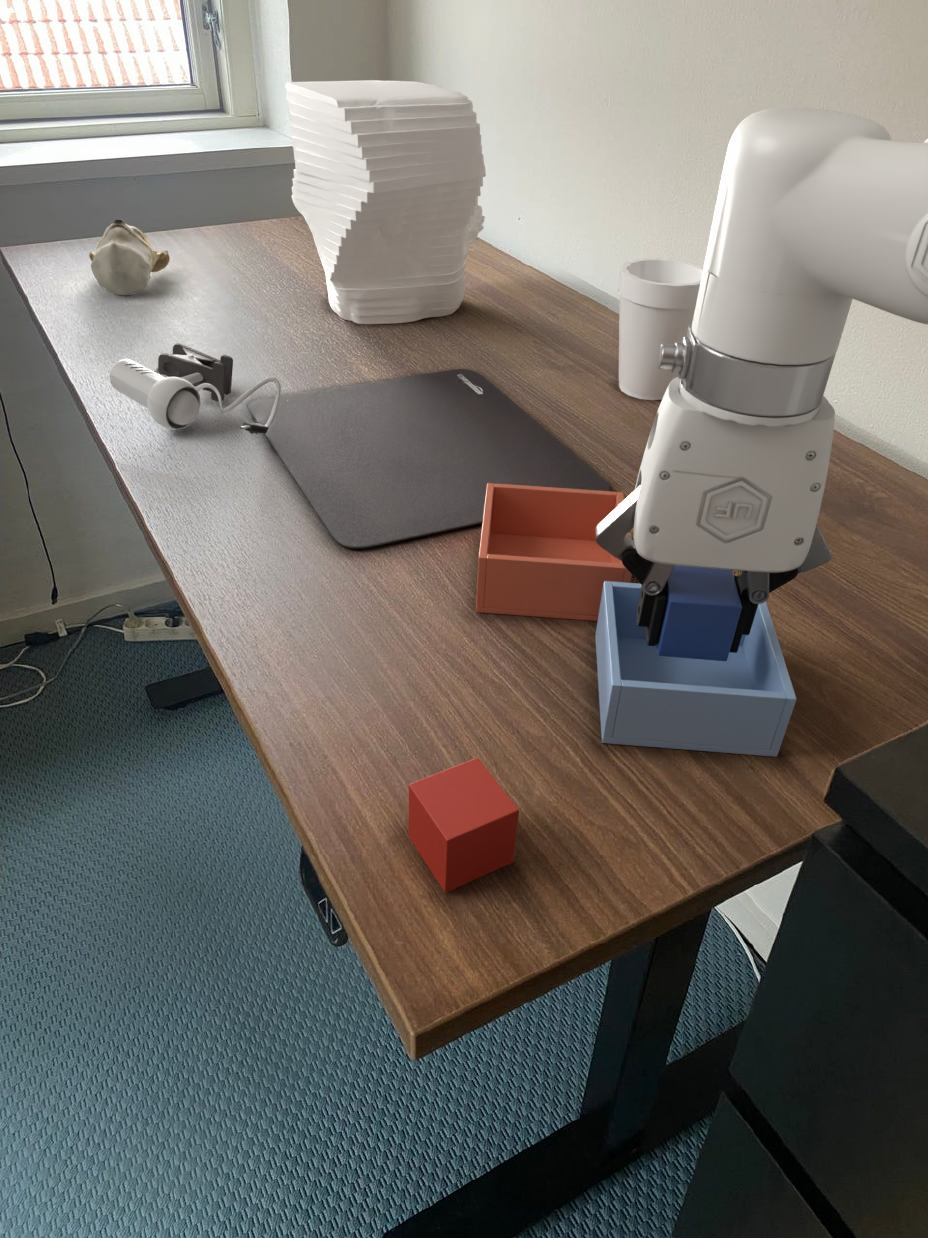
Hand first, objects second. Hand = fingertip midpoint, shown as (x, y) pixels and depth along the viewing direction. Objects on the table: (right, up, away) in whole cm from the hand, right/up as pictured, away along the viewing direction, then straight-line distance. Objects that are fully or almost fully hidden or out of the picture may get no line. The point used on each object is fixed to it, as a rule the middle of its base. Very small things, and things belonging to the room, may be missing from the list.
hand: (689, 633), depth 61 cm
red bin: (-8, +4, +14) cm, 16 cm away
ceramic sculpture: (-61, +47, +66) cm, 102 cm away
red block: (-15, -12, -8) cm, 21 cm away
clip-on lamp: (-41, +22, +34) cm, 57 cm away
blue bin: (0, -4, +3) cm, 5 cm away
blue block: (0, 0, 0) cm, 0 cm away
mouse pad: (-19, +18, +31) cm, 41 cm away
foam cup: (+6, +27, +44) cm, 52 cm away
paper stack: (-22, +42, +62) cm, 78 cm away
